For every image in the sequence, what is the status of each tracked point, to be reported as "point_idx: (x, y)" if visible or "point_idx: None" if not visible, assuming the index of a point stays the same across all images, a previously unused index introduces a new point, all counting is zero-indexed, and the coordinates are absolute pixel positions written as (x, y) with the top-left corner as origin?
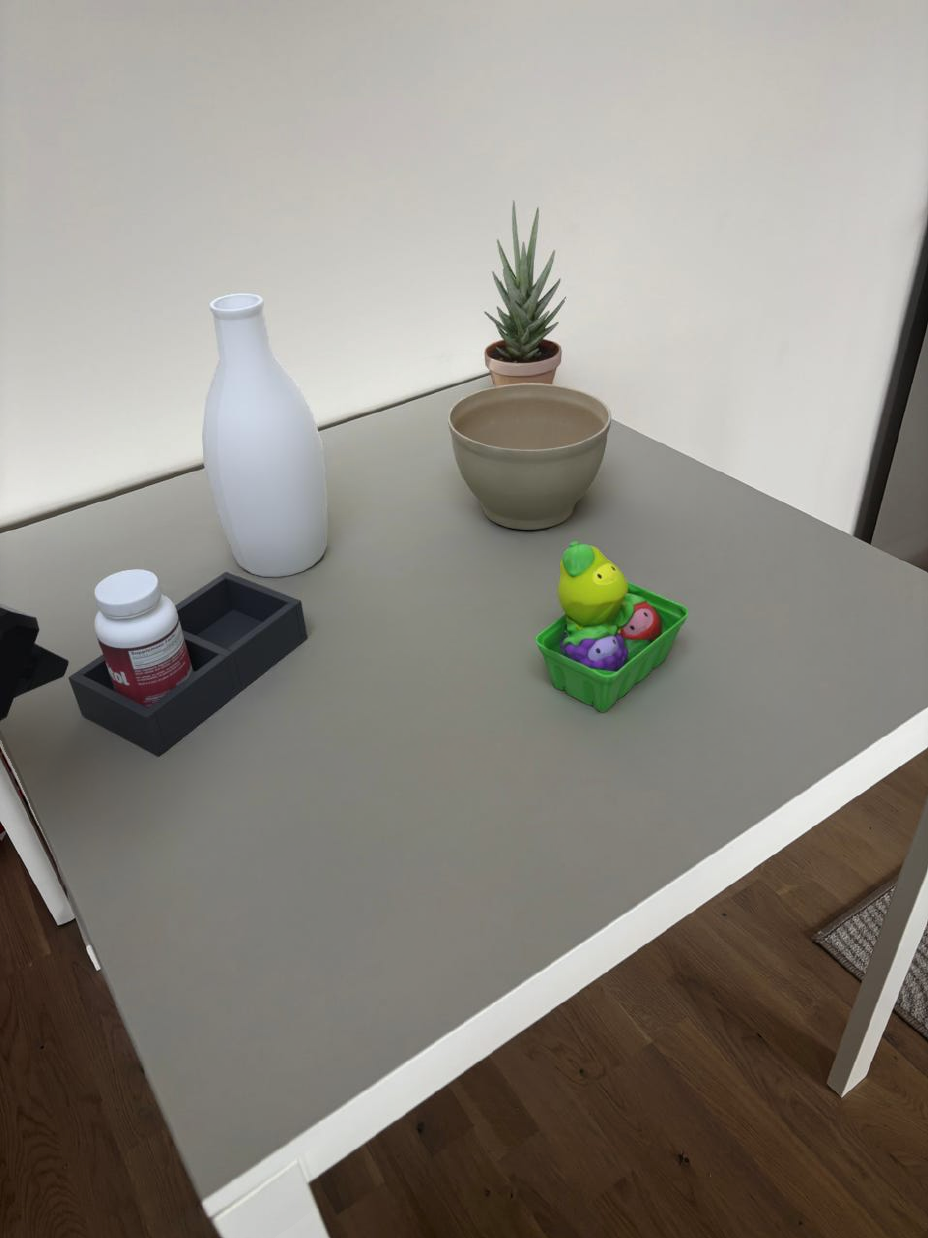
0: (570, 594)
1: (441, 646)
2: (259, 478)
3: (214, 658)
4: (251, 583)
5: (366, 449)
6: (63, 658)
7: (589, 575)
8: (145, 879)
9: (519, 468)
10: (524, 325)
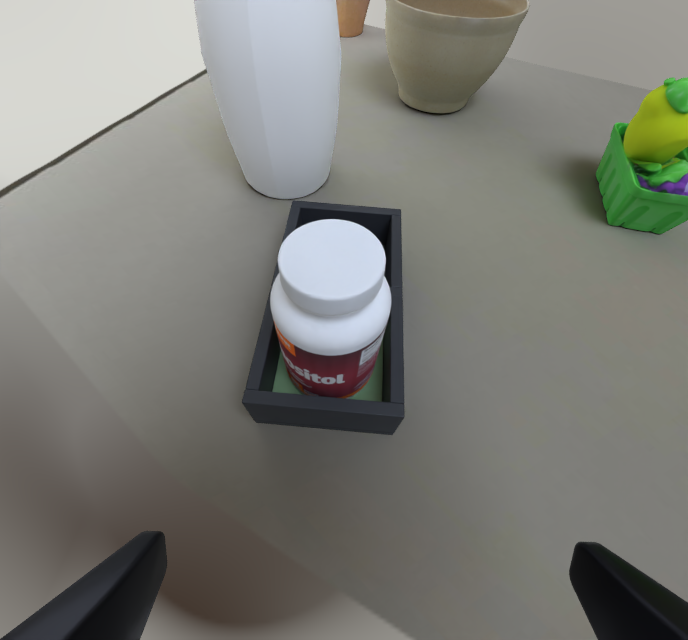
0: (679, 133)
1: (499, 217)
2: (308, 72)
3: (392, 302)
4: (333, 205)
5: None
6: (633, 567)
7: None
8: (549, 619)
9: (487, 41)
10: None
